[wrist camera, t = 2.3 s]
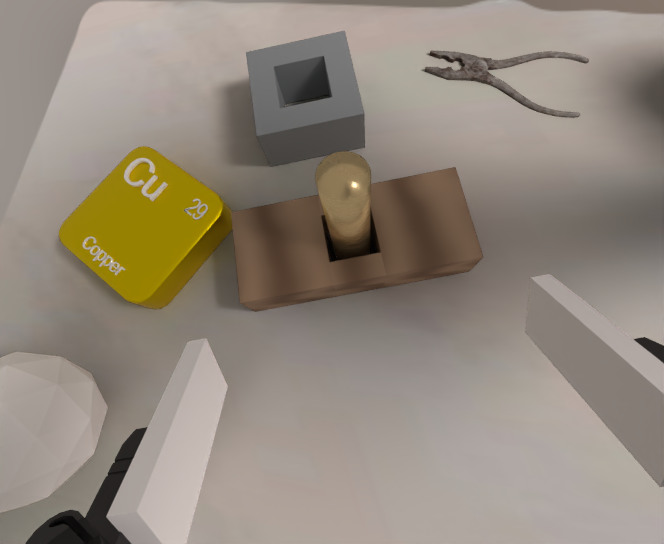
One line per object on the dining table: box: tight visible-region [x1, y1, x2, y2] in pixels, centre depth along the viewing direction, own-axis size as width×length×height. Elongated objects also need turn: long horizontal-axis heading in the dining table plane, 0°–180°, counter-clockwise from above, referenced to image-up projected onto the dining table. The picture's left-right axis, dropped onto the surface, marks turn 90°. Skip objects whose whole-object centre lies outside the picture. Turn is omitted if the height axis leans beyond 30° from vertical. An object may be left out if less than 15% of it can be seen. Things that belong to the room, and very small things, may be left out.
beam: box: [231, 167, 483, 312], centre depth 38 cm, size 24×10×5 cm, turn 100°
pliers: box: [425, 51, 589, 117], centre depth 45 cm, size 10×1×20 cm
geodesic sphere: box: [0, 352, 108, 513], centre depth 32 cm, size 14×14×14 cm
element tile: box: [59, 146, 233, 309], centre depth 42 cm, size 15×15×5 cm
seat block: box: [246, 31, 365, 166], centre depth 44 cm, size 12×12×6 cm
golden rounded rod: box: [315, 151, 371, 260], centre depth 33 cm, size 4×4×16 cm
